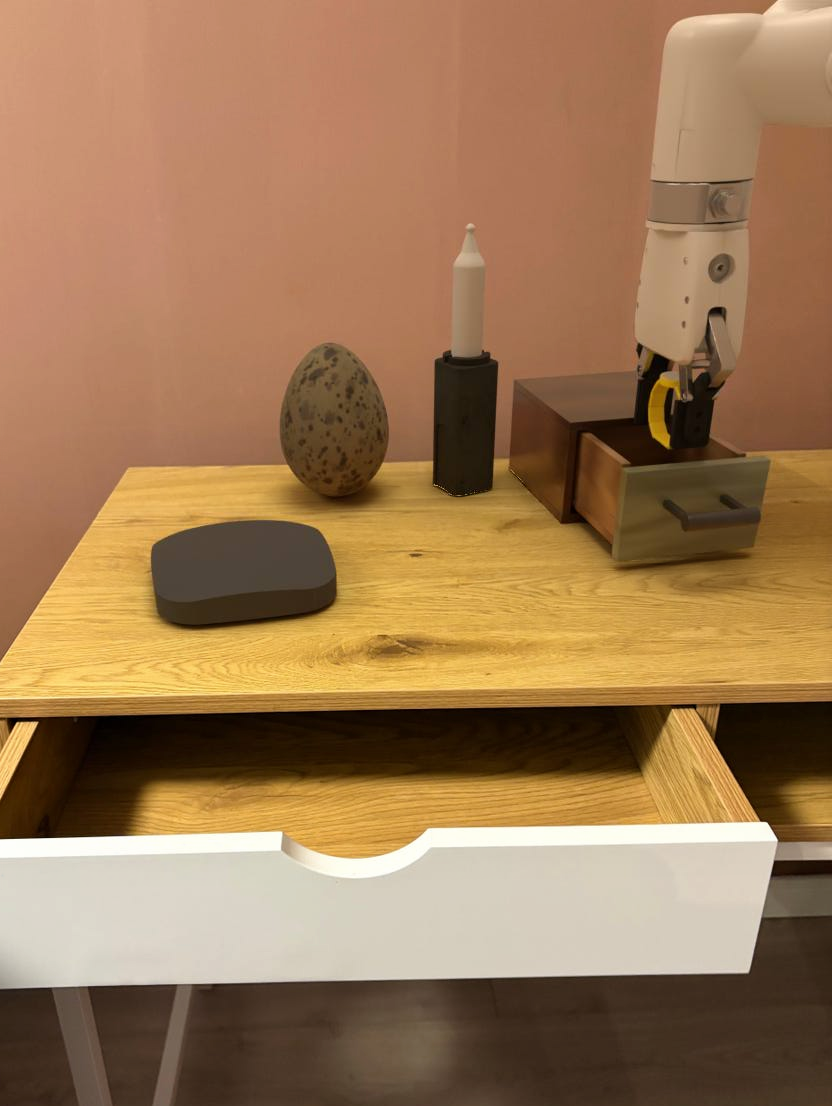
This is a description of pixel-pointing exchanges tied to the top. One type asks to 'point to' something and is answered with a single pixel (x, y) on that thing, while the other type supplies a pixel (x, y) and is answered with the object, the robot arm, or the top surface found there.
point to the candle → (465, 386)
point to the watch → (662, 405)
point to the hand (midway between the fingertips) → (669, 432)
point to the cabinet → (564, 429)
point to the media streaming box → (242, 572)
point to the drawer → (667, 493)
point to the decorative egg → (333, 422)
